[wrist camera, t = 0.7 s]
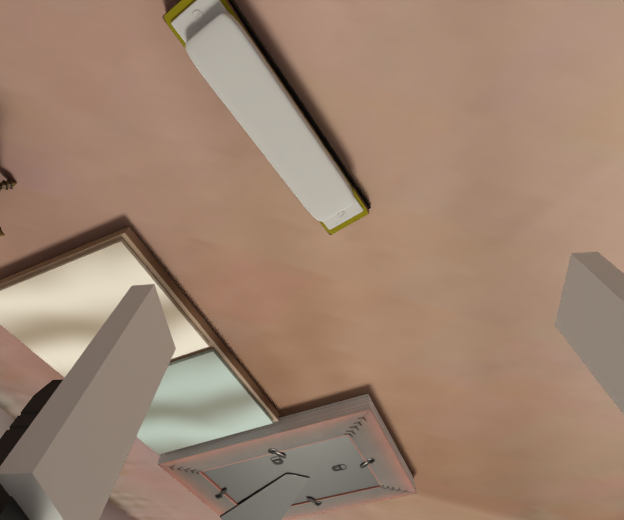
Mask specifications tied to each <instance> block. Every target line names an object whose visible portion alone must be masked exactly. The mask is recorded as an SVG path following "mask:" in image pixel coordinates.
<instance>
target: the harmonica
mask: <svg viewBox="0 0 624 520" xmlns="http://www.w3.org/2000/svg"><path fill="white" fill-rule="evenodd" d="M163 19H164V21H165V22H166V23H167V25H168V26H169V27H170V29H171V30H172V31H173V33H174V34H175V35H176V37H177V38H178V39H179V41H180V42H181V43H182V44H183V46H184V47H185V48H186V51H187V53H188V55H189V57H190V58H191V60H192V61H193V63H194V65H195V66H196V67H197V69H198V70H199V72H200V73H201V74H202V76H203V77H204V78H205V80H206V81H207V82H208V83H209V85H210V86H211V87H212V89H213V90H214V91H215V93H216V94H217V95H218V96H219V98H220V99H221V100H222V102H223V103H224V104H225V105H226V107H227V108H228V109H229V111H230V112H231V113H232V114H233V116H234V117H235V118H236V120H237V121H238V122H239V123H240V125H241V126H242V127H243V129H244V130H245V131H246V132H247V134H248V135H249V136H250V138H251V139H252V140H253V141H254V143H255V144H256V145H257V146H258V148H259V149H260V150H261V152H262V153H263V154H264V155H265V157H266V158H267V159H268V161H269V162H270V163H271V164H272V166H273V167H274V168H275V170H276V171H277V172H278V173H279V175H280V176H281V177H282V179H283V180H284V181H285V182H286V184H287V185H288V186H289V188H290V189H291V190H292V191H293V193H294V194H295V195H296V197H297V198H298V199H299V200H300V202H301V203H302V204H303V205H304V207H305V208H306V209H307V210H308V212H309V213H310V214H311V215H312V216H313V217H314V218H315V219H317V220H318V221H319V222H320V223H321V224H322V226H323V227H324V228H325V230H326V231H327V232H328V233H329V235H332V234H333V233H335V232H337V231H339V230H341V229H342V228H344V227H346V226H348V225H350V224H351V223H353V222H355V221H357V220H358V219H360V218H362V217H364V216H366V215H367V214H369V209H370V208H371V207H370V204H369V203H368V201H367V199H366V198H365V196H364V195H363V193H362V192H361V190H360V189H359V187H358V186H357V184H356V183H355V181H354V180H353V178H352V177H351V175H350V174H349V172H348V171H347V169H346V168H345V166H344V165H343V163H342V162H341V160H340V159H339V157H338V156H337V154H336V153H335V151H334V150H333V148H332V147H331V145H330V144H329V142H328V141H327V139H326V138H325V136H324V135H323V133H322V132H321V130H320V129H319V127H318V126H317V124H316V123H315V121H314V120H313V118H312V117H311V115H310V114H309V112H308V111H307V109H306V108H305V106H304V105H303V103H302V102H301V100H300V99H299V97H298V96H297V94H296V93H295V91H294V90H293V88H292V87H291V86H290V84H289V83H288V81H287V80H286V78H285V77H284V75H283V74H282V72H281V71H280V69H279V68H278V66H277V65H276V63H275V62H274V60H273V59H272V57H271V56H270V54H269V53H268V51H267V50H266V48H265V47H264V45H263V44H262V42H261V41H260V39H259V38H258V36H257V35H256V33H255V32H254V30H253V29H252V27H251V26H250V24H249V23H248V21H247V20H246V18H245V17H244V15H243V14H242V12H241V11H240V9H239V8H238V6H237V5H236V3H235V2H234V0H180V1H179V2H178V3H177V4H176V5H175V6H173V7H172V8H171V9H170V10H169V11H168V12H167V13H166V14H164V15H163Z"/></svg>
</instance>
